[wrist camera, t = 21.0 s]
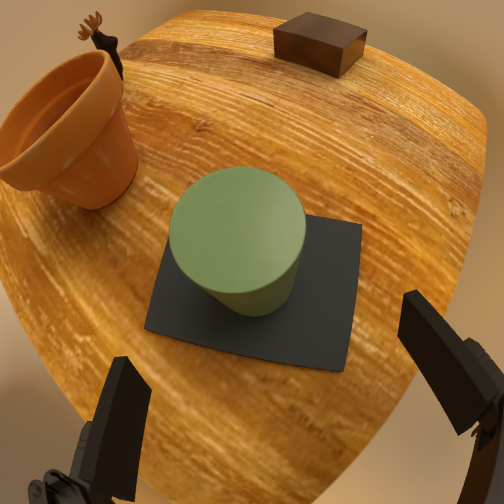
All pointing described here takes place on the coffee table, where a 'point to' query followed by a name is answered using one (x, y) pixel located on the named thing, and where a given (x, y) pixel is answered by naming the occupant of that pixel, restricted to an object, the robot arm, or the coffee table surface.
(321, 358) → the slate mat
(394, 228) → the coffee table surface
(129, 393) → the robot arm
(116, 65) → the figurine
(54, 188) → the flower pot
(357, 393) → the coffee table surface
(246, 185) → the green canister
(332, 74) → the dark brown square block
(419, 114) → the coffee table surface
